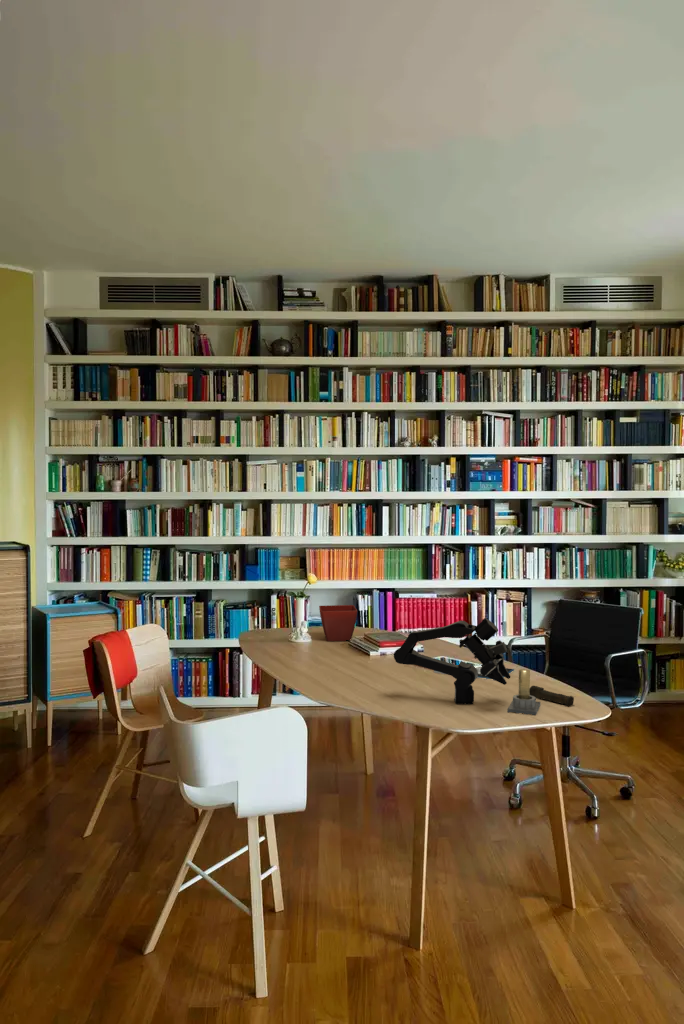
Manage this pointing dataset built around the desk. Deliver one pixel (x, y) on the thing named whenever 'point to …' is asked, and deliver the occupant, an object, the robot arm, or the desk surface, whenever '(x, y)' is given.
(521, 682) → the brass hinge pin
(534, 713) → the plate with ring collar
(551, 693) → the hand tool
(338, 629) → the plant pot
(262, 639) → the desk surface
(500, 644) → the robot arm
